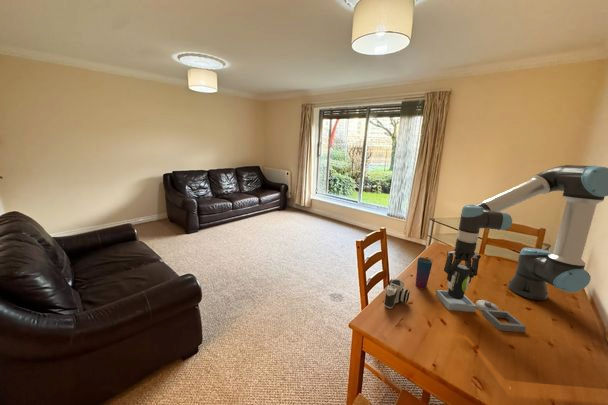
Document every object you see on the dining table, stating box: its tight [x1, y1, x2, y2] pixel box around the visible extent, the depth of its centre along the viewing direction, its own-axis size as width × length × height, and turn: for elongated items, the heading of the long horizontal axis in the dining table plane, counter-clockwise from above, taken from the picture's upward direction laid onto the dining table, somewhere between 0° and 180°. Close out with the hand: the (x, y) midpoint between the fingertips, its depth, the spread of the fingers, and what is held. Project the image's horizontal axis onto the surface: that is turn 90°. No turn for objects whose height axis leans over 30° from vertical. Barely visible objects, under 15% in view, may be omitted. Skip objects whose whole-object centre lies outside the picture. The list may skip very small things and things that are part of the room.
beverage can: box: [447, 263, 470, 300], centre depth 112 cm, size 6×6×15 cm
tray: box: [435, 289, 477, 313], centre depth 114 cm, size 12×12×3 cm
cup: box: [415, 256, 433, 290], centre depth 126 cm, size 7×7×15 cm
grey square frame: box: [475, 299, 527, 333], centre depth 106 cm, size 10×18×3 cm, turn 178°
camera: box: [384, 277, 410, 309], centre depth 112 cm, size 16×9×10 cm, turn 145°
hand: (457, 288), depth 113 cm, fingers closed on beverage can, 6 cm apart
